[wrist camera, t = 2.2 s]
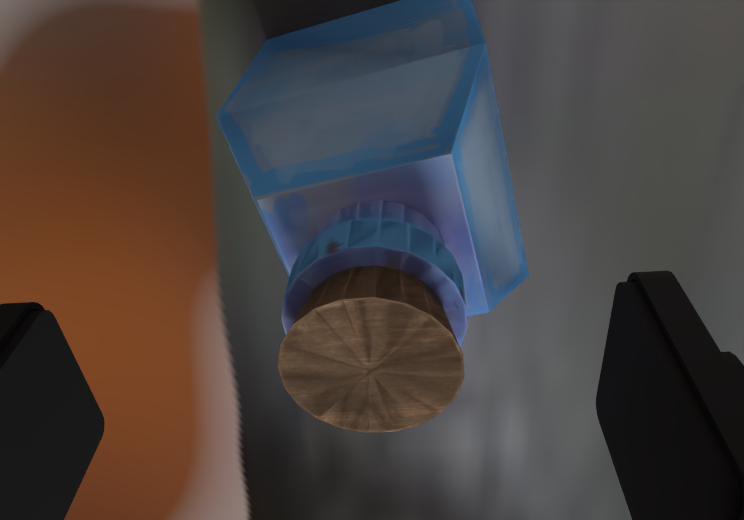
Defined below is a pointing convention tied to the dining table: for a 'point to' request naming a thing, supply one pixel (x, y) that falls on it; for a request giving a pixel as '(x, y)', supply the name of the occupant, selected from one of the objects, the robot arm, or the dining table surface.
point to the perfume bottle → (379, 204)
